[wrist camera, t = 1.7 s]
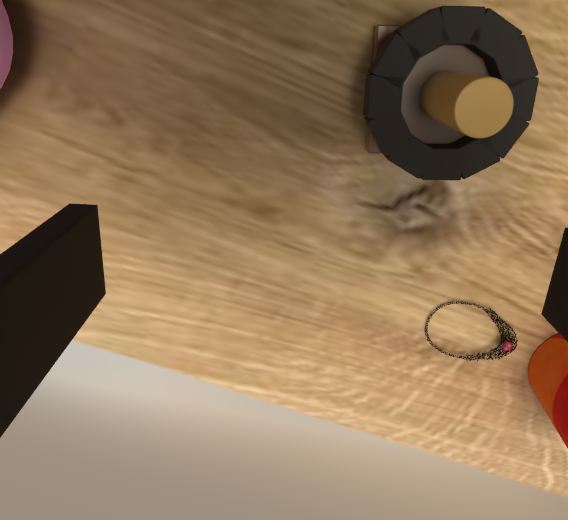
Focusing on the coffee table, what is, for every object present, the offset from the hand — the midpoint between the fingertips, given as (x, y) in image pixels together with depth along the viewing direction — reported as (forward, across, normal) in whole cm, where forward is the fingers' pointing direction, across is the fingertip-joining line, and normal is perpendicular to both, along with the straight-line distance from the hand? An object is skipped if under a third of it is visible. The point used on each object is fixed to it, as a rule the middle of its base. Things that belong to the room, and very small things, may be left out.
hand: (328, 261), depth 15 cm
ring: (+14, +7, +4) cm, 16 cm away
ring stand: (+17, +7, +4) cm, 19 cm away
